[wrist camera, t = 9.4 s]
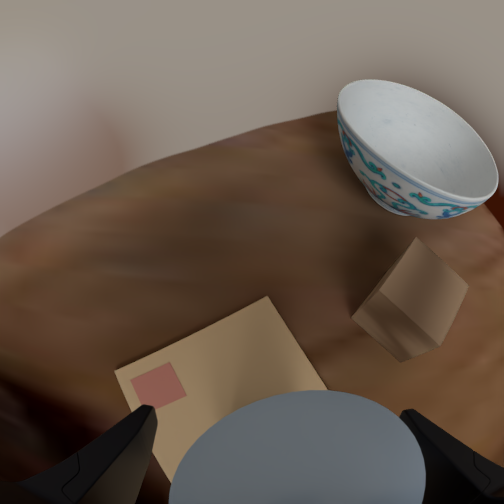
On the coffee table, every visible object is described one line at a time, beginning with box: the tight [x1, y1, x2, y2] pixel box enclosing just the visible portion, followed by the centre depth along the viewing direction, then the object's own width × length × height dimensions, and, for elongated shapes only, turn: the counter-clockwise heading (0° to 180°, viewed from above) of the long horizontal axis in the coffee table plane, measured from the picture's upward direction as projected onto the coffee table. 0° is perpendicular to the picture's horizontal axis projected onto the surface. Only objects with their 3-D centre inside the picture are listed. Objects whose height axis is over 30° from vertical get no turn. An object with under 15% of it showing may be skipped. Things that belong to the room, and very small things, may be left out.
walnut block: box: [351, 237, 469, 362], centre depth 17 cm, size 5×5×5 cm
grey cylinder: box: [169, 390, 426, 504], centre depth 9 cm, size 5×5×13 cm
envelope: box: [114, 296, 328, 484], centre depth 15 cm, size 16×12×1 cm
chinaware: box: [337, 79, 498, 219], centre depth 22 cm, size 15×15×8 cm
